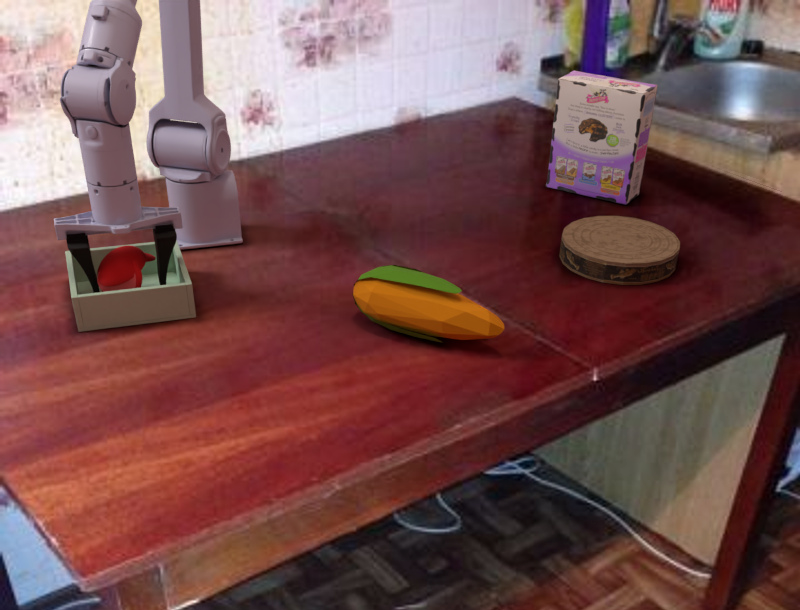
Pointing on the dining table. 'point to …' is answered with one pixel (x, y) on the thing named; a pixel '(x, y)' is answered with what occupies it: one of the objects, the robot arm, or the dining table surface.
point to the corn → (422, 305)
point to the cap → (122, 268)
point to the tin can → (619, 250)
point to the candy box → (600, 136)
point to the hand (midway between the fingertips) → (129, 287)
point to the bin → (131, 293)
